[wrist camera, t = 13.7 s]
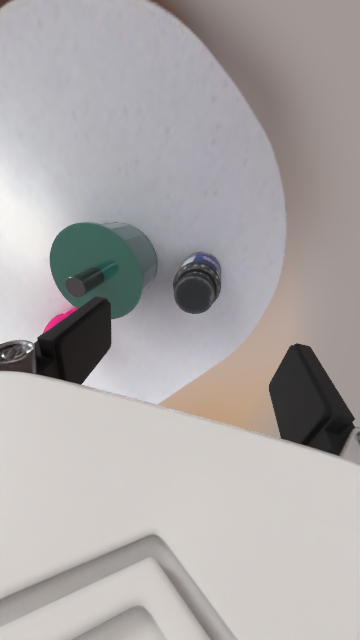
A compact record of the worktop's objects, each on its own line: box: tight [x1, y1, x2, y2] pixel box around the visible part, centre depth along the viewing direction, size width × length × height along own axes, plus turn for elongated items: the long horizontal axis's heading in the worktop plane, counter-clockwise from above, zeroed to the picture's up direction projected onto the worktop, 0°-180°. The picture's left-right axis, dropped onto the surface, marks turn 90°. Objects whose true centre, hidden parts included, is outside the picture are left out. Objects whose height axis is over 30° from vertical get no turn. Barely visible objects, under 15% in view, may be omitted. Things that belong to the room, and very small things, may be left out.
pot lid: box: [50, 222, 144, 319], centre depth 25 cm, size 13×13×6 cm
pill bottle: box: [173, 252, 221, 314], centre depth 29 cm, size 6×6×11 cm
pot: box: [101, 222, 157, 294], centre depth 31 cm, size 12×12×8 cm
